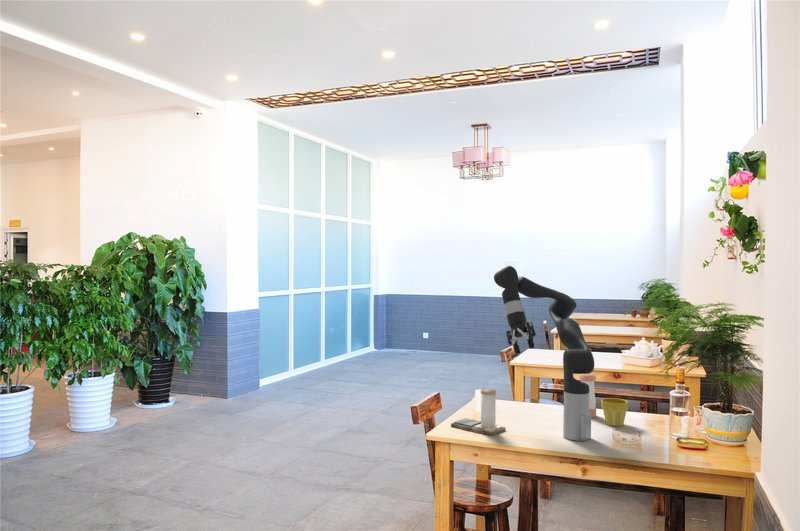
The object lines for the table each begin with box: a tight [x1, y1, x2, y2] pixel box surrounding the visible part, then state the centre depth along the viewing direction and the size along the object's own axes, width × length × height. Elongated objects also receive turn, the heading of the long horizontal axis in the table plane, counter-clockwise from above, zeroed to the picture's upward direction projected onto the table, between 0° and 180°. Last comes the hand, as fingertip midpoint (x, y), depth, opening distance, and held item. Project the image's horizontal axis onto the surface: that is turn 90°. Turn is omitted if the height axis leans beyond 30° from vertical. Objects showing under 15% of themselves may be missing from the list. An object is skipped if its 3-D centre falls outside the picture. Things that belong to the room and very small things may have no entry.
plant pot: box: [600, 397, 629, 427], centre depth 237 cm, size 10×10×10 cm
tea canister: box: [480, 388, 497, 428], centre depth 226 cm, size 6×6×14 cm
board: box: [450, 417, 506, 437], centre depth 229 cm, size 19×10×2 cm, turn 49°
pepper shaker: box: [578, 372, 597, 419], centre depth 251 cm, size 7×7×19 cm
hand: (524, 351), depth 236 cm, fingers open, 8 cm apart
